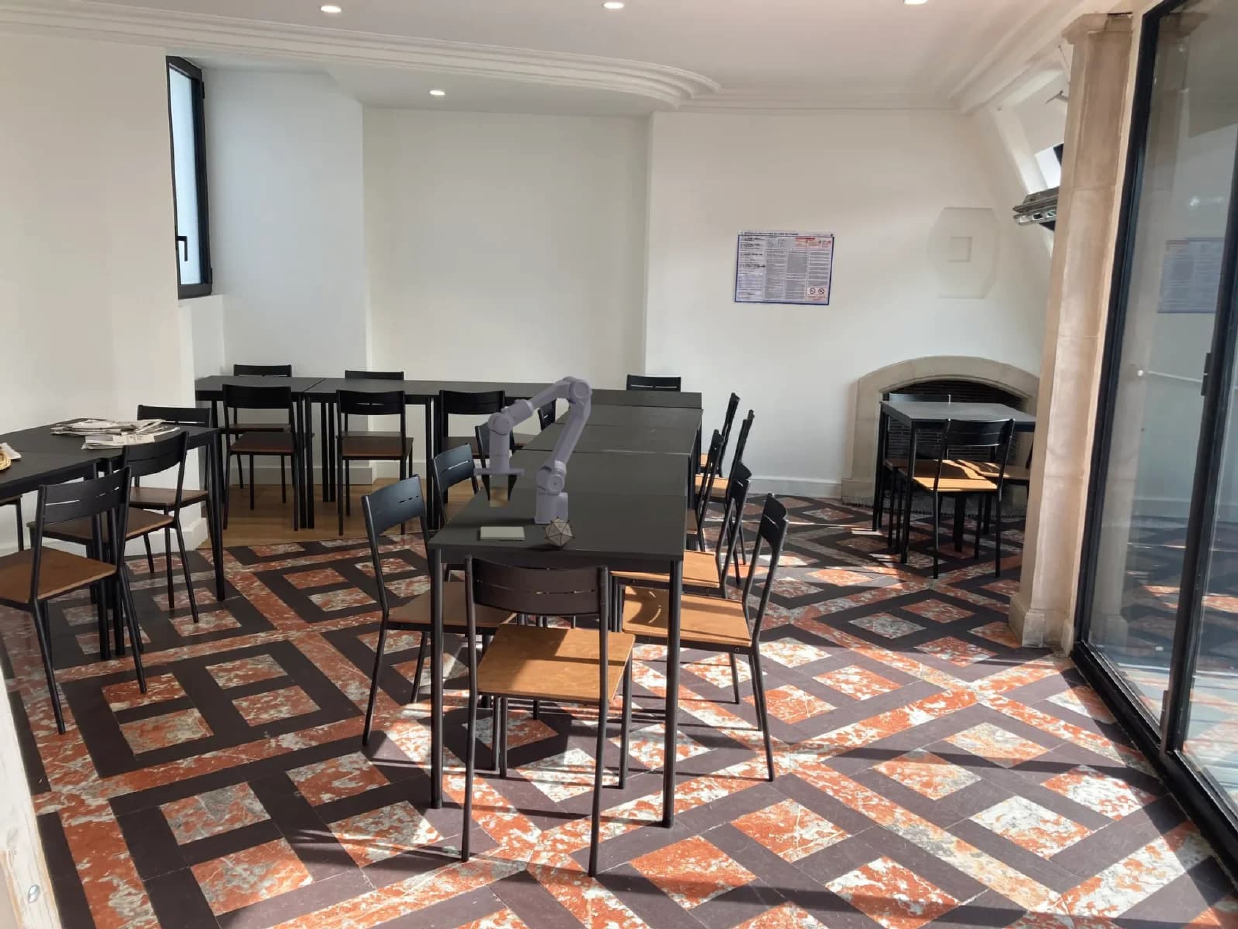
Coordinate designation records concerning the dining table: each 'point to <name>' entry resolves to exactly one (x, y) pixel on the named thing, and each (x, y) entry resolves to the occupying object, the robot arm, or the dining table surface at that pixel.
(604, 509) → the dining table surface
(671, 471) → the dining table surface
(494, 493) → the maple block
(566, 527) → the game die
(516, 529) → the sage tile
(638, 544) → the dining table surface
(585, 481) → the dining table surface
